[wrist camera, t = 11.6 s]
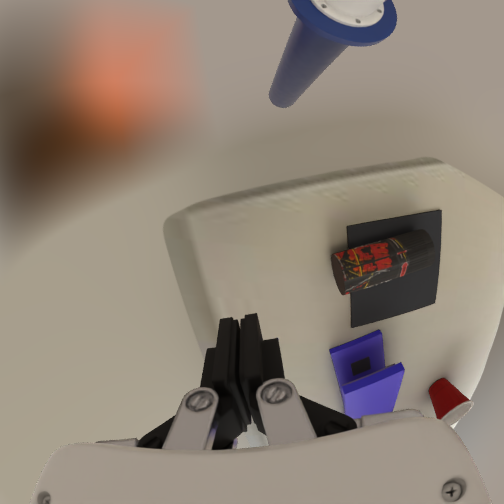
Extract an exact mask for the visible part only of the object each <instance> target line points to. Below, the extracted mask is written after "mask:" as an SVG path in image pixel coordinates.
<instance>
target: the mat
mask: <svg viewBox="0 0 504 504" xmlns="http://www.w3.org/2000/svg"><path fill="white" fill-rule="evenodd" d="M441 225H442V210H436V211H430V212H424V213H419V214H413V215H407V216H401V217H395V218H390V219H384V220H378V221H373V222H367V223H361V224H356V225H350V226H347V235H348V248H349V249H353V248H356V247H360V246H364V245H367V244H371V243H374V242H378V241H381V240H384V239H388V238H391V237H395V236H398V235H402V234H405V233H408V232H412V231H415V230H418V229H423V230H425V231H426V232H427V233H428V234H429V235H430V237H431V239H432V241H433V244H434V248H435V260H434V263H433V264H432V265H431V266H429V267H427V268H424V269H421V270H418V271H416V272H413V273H410V274H407V275H404V276H401V277H398V278H395V279H392V280H389V281H387V282H383V283H380V284H377V285H374V286H371V287H368V288H365V289H362V290H358V291H355V292H352V293H351V327H352V328H354V327H358V326H362V325H365V324H369V323H373V322H376V321H380V320H384V319H387V318H390V317H394V316H397V315H400V314H404V313H407V312H410V311H413V310H416V309H419V308H422V307H425V306H428V305H431V304H434V303H435V300H436V293H437V285H438V276H439V265H440V251H441Z"/></svg>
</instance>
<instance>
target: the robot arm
mask: <svg viewBox="0 0 504 504" xmlns="http://www.w3.org/2000/svg"><path fill="white" fill-rule="evenodd" d="M384 1H385V0H311V2H312V3H313V5H314V6H315V7H316V8H317V9H318V10H319V11H320V12H322V13H323V14H324V15H326V16H327V17H329V18H330V19H332V20H334V21H336V22H339V23H341V24H344V25H348V26H352V27H368V26H371V25H373V24H375V23H377V22H378V21H379V20H380V19H381V18H382V16H383V13H384V5H383V2H384ZM251 415H252V418H253V421H254V423H255V424H256V425H257V428H258V431H260V432H261V433H263V434H265V435H266V436H267V440H268V443H269V446H263V447H253V448H242V449H236V448H237V443H238V439H237V437H238V436H239V435H240V434H241V433H242V432H247V425H249V424H251ZM443 485H444V486H443ZM30 504H492V502H491V499H490V497H489V494H488V492H487V489H486V487H485V484H484V482H483V480H482V477H481V475H480V473H479V471H478V468H477V466H476V464H475V463H474V461H473V459H472V457H471V455H470V453H469V451H468V450H467V448H466V446H465V445H464V443H463V442H462V440H461V439H460V437H459V436H458V435H457V433H456V432H455V431H454V430H453V429H452V428H451V427H450V426H449V425H448V424H447V423H446V422H444V421H442V420H440V419H436V418H429V417H424V415H423V414H422V413H421V412H420V411H418V410H415V409H406V410H400V411H394V412H387V413H380V414H372V415H363V416H361V418H357V419H353V418H351V417H349V416H348V415H345V414H342V413H340V412H337V411H335V410H333V409H330V408H328V407H325V406H323V405H321V404H318V403H316V402H314V401H311V400H309V399H307V398H305V397H302V396H300V395H299V394H298V392H297V390H296V387H295V385H294V384H293V383H292V382H291V381H289V380H287V379H285V377H284V370H283V364H282V358H281V352H280V347H279V341H278V338H275V339H269V340H263V338H262V334H261V329H260V325H259V320H258V316H257V313H254V314H248V315H245V318H243V319H241V323H240V327H239V323H238V320H233V318H232V317H230V318H223V319H220V323H219V330H218V337H217V344H216V347H215V348H208V349H207V351H206V356H205V362H204V368H203V373H202V379H201V385H200V387H199V388H196V389H193V390H191V391H189V392H188V393H187V394H186V395H185V396H184V398H183V399H182V401H181V404H180V406H179V409H178V411H177V413H176V415H175V416H173V417H172V418H170V419H169V420H168V421H166V422H165V423H163V424H162V425H160V426H158V427H157V428H155V429H154V430H152V431H151V432H149V433H148V434H146V435H145V436H143V437H142V438H141V439H140V440H138V439H137V438H132V439H122V440H109V441H98V442H96V443H75V444H68V445H65V446H62V447H60V448H58V449H56V450H55V451H54V453H53V454H52V455H51V456H50V458H49V460H48V461H47V463H46V465H45V466H44V468H43V471H42V473H41V475H40V477H39V480H38V482H37V484H36V487H35V489H34V492H33V495H32V498H31V501H30Z"/></svg>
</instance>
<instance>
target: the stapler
mask: <svg viewBox="0 0 504 504" xmlns="http://www.w3.org/2000/svg"><path fill="white" fill-rule="evenodd" d="M329 350H330V354H331V357H332V361H333V365H334V368H335V372H336V376H337V380H338V383H339V387H340V391H341V395H342V399H343V403H344V410H345V415H348V416H349V417H351V418H353V419H357V418H361V416H363V415H372V414H380V413H387V412H392V411H393V408H394V405H395V402H396V399H397V396H398V392H399V389H400V385H401V382H402V378H403V374H404V371H405V369H404V367H403V365H402V363H401V362H400V363H398V364H396V365H395V363H394V364H392V365H390V366H388V367H386V368H385V360H384V349H383V339H382V333H381V331H380V330H377V331H375V332H372V333H370V334H368V335H365V336H363V337H360V338H358V339H355V340H353V341H350V342H348V343H345V344H343V345H340V346H337V347H335V348H332V349H329Z"/></svg>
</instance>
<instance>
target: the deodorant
mask: <svg viewBox="0 0 504 504" xmlns="http://www.w3.org/2000/svg"><path fill="white" fill-rule="evenodd" d="M434 260H435V248H434V244H433V241H432V239H431V237H430V235H429V234H428V233H427V232H426V231H425V230H423V229H418V230H415V231H412V232H408V233H405V234H402V235H398V236H395V237H391V238H388V239H384V240H381V241H378V242H374V243H371V244H367V245H364V246H360V247H356V248H353V249H349V250H346V251H342V252H339V253H335V254H332V257H331V262H332V269H333V274H334V277H335V281H336V284H337V286H338V289H339V291H340V293H341V294H342V295H345V294H349V293H352V292H355V291H358V290H362V289H365V288H368V287H371V286H374V285H377V284H380V283H383V282H387V281H389V280H392V279H395V278H398V277H401V276H404V275H407V274H410V273H413V272H416V271H418V270H421V269H424V268H427V267H429V266H431V265H432V264H433V263H434Z"/></svg>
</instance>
